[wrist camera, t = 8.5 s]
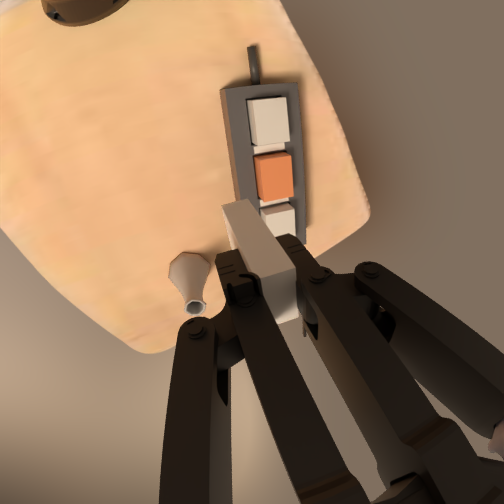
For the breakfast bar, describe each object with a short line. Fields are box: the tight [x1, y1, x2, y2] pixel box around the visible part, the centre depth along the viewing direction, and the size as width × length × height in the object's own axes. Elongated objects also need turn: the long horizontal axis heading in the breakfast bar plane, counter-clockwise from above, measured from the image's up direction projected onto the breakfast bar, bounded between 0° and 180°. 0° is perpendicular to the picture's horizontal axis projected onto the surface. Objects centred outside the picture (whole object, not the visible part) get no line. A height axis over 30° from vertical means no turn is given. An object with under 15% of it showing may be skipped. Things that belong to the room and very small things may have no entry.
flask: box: [168, 253, 210, 316], centre depth 44 cm, size 7×7×10 cm
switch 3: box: [259, 202, 296, 237], centre depth 43 cm, size 6×4×4 cm
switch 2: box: [252, 151, 294, 202], centre depth 38 cm, size 6×4×4 cm
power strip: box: [220, 46, 306, 245], centre depth 39 cm, size 32×10×4 cm, turn 7°
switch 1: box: [246, 97, 290, 146], centre depth 34 cm, size 6×4×4 cm
